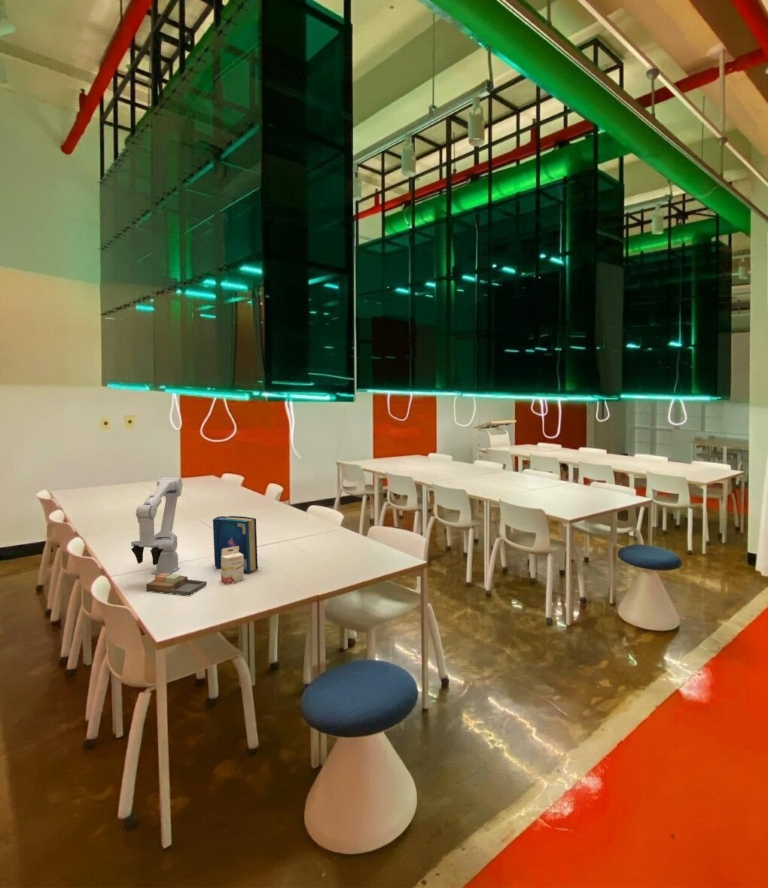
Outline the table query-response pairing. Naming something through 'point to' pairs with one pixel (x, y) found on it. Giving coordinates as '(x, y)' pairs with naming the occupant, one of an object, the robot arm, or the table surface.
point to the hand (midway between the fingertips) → (147, 563)
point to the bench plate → (165, 585)
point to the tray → (189, 587)
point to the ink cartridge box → (232, 565)
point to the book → (236, 539)
